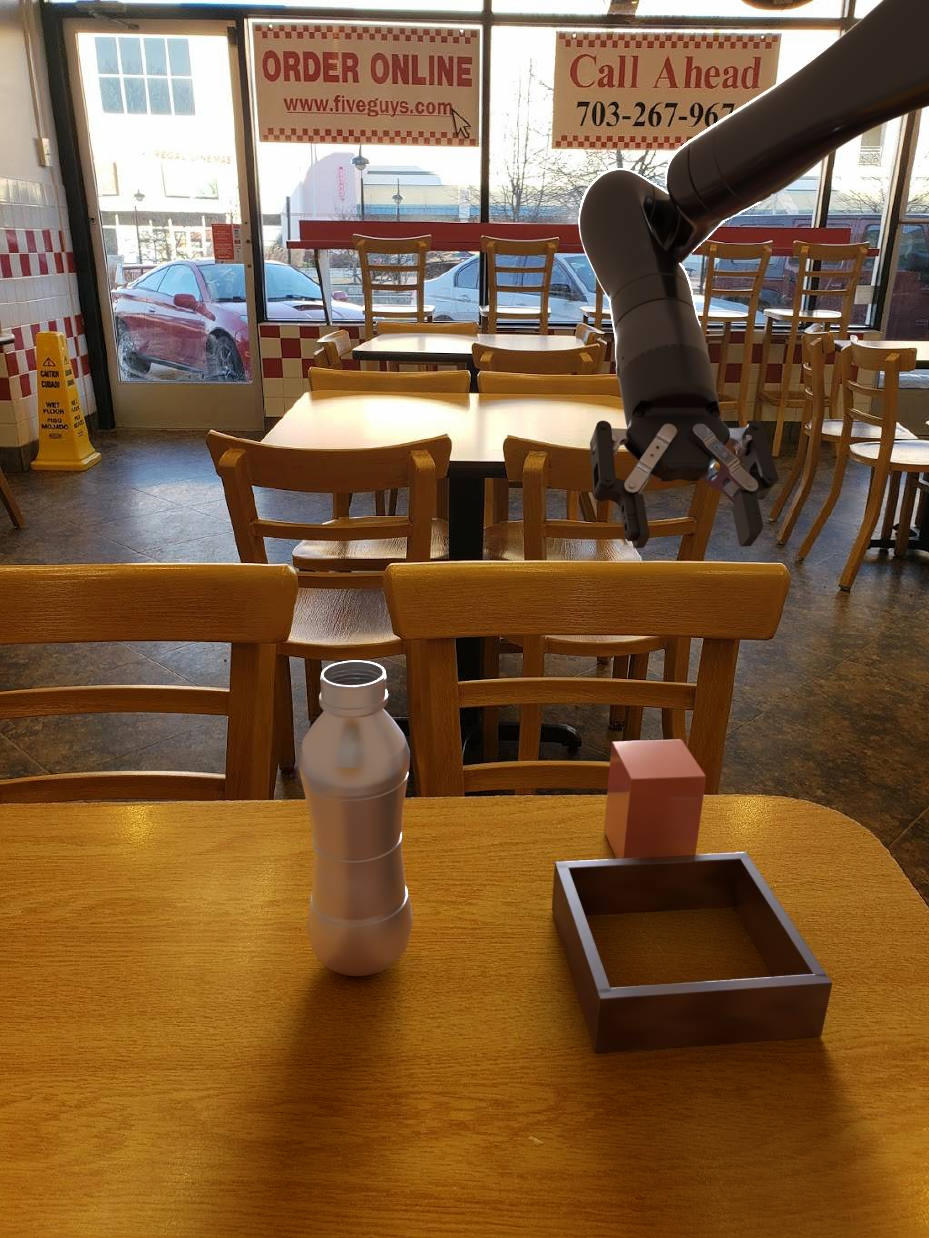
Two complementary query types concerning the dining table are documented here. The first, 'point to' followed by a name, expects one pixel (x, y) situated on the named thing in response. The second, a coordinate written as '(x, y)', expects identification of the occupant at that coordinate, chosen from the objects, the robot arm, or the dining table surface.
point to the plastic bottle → (356, 823)
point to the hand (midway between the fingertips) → (696, 542)
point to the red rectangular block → (653, 799)
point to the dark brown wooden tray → (697, 1007)
